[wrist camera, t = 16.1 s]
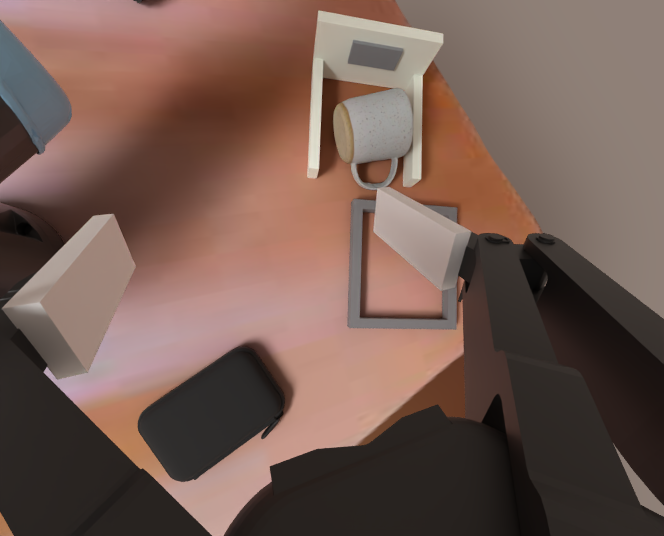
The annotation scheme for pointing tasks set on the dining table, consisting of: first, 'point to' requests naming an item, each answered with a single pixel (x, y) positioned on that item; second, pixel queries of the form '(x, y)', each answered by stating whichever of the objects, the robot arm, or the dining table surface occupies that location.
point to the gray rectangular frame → (355, 280)
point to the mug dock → (371, 71)
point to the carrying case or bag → (212, 414)
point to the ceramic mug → (374, 130)
